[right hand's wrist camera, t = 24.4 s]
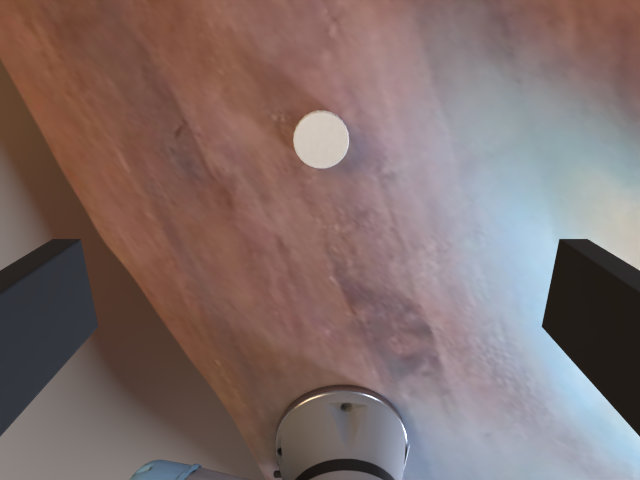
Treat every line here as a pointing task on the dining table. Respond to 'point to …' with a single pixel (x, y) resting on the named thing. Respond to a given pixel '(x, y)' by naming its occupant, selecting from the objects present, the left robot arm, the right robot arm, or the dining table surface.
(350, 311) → the dining table surface
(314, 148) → the lid
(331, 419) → the right robot arm
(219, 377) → the dining table surface
